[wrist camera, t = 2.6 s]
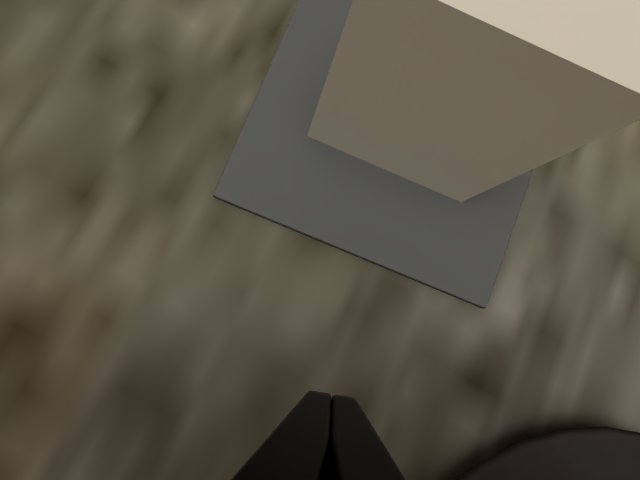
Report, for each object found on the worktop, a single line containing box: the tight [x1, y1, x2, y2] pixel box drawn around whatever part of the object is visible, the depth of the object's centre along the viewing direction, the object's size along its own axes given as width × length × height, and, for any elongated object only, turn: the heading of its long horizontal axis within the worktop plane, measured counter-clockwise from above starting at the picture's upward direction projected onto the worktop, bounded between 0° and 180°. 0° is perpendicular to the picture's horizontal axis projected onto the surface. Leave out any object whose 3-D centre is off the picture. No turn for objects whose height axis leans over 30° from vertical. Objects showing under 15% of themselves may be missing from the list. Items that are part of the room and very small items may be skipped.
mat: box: [213, 0, 533, 308], centre depth 23 cm, size 20×12×1 cm, turn 158°
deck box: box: [307, 0, 640, 202], centre depth 16 cm, size 3×7×11 cm, turn 68°
